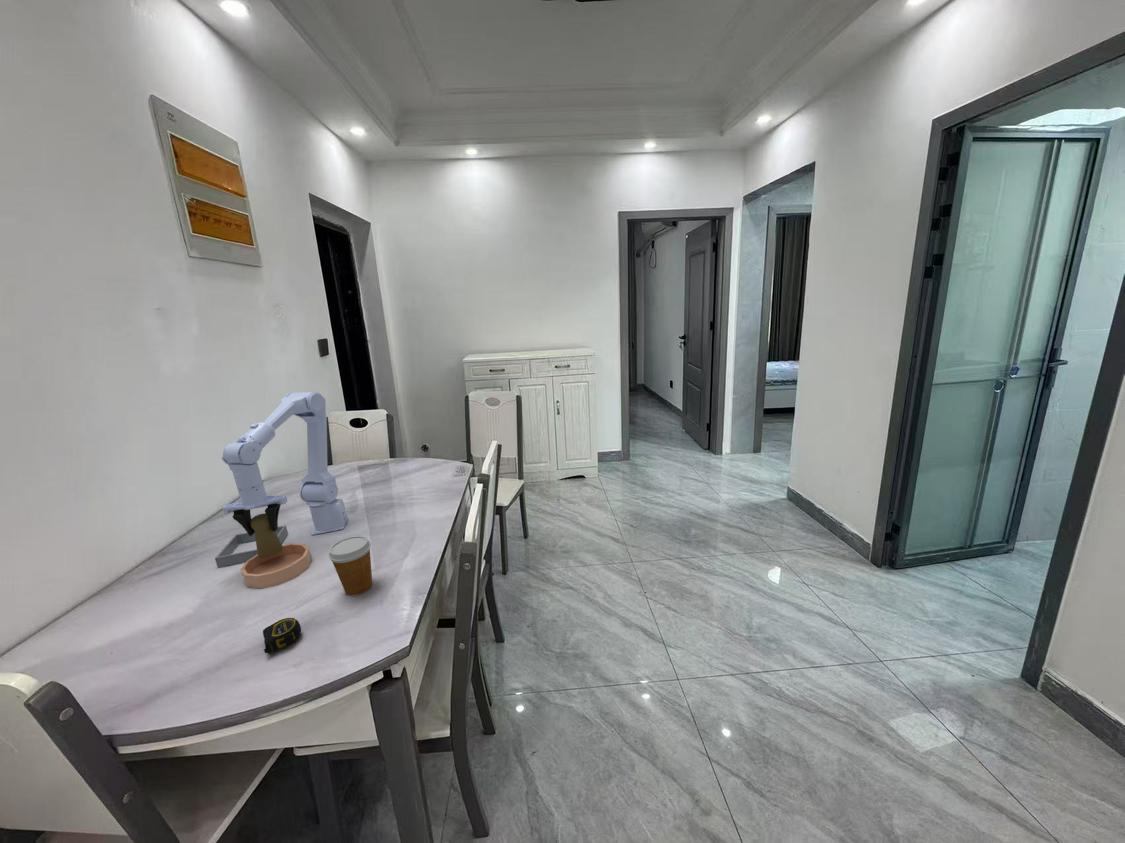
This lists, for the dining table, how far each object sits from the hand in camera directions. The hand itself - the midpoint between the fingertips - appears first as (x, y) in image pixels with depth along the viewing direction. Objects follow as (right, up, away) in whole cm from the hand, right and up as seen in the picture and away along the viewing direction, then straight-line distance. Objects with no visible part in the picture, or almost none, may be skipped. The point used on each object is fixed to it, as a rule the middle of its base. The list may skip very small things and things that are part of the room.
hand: (263, 532), depth 124 cm
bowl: (+4, -10, 0) cm, 11 cm away
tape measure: (+22, -17, -28) cm, 40 cm away
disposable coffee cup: (+31, -11, -11) cm, 35 cm away
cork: (0, -6, +3) cm, 7 cm away
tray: (-11, -8, +13) cm, 19 cm away
